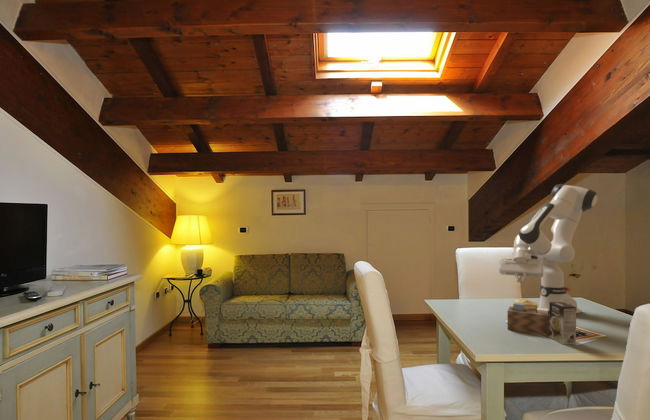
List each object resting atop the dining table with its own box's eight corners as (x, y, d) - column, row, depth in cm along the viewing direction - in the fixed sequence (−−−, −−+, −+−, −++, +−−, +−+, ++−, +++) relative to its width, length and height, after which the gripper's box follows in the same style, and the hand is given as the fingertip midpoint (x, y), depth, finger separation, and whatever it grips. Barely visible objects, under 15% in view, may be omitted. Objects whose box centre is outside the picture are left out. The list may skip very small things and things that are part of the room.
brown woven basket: (507, 329, 189) (507, 310, 189) (509, 324, 197) (509, 306, 197) (553, 335, 179) (553, 316, 179) (553, 330, 188) (553, 311, 188)
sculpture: (519, 322, 200) (519, 301, 200) (507, 316, 212) (506, 296, 212) (541, 322, 200) (541, 301, 200) (527, 315, 212) (527, 295, 212)
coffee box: (548, 337, 177) (548, 301, 176) (562, 337, 177) (562, 301, 177) (562, 344, 167) (562, 306, 167) (576, 344, 168) (576, 306, 168)
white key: (537, 316, 185) (537, 309, 185) (537, 314, 189) (537, 307, 189) (547, 318, 182) (547, 310, 182) (548, 315, 186) (548, 308, 186)
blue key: (513, 311, 190) (513, 303, 190) (514, 309, 194) (514, 301, 194) (523, 312, 188) (523, 304, 188) (524, 310, 191) (524, 303, 191)
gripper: (499, 254, 209) (497, 276, 201) (543, 257, 199) (543, 279, 190) (500, 262, 213) (498, 283, 204) (543, 264, 202) (543, 287, 194)
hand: (520, 281), depth 197 cm, fingers closed
